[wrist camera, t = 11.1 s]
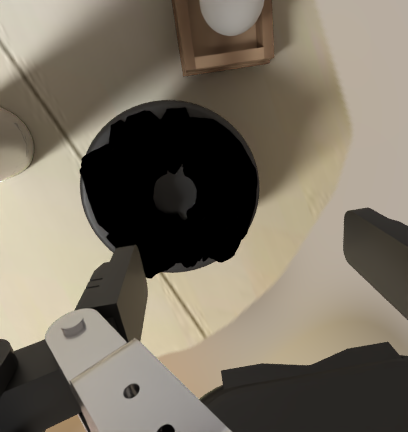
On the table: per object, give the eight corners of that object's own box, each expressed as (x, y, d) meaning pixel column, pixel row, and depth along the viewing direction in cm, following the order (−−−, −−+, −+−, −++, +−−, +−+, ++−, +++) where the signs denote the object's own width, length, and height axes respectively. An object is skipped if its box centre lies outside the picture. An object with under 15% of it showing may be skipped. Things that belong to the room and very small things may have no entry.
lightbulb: (214, -29, 34) (231, -79, 24) (255, 10, 35) (287, -21, 25) (184, 22, 35) (187, -4, 25) (225, 57, 37) (243, 45, 27)
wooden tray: (183, 76, 38) (183, 73, 35) (167, -29, 34) (165, -44, 31) (267, 63, 38) (277, 59, 35) (261, -42, 35) (271, -59, 31)
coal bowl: (243, 233, 47) (281, 311, 29) (114, 244, 46) (74, 332, 28) (241, 95, 40) (291, 91, 22) (88, 105, 39) (13, 108, 21)
